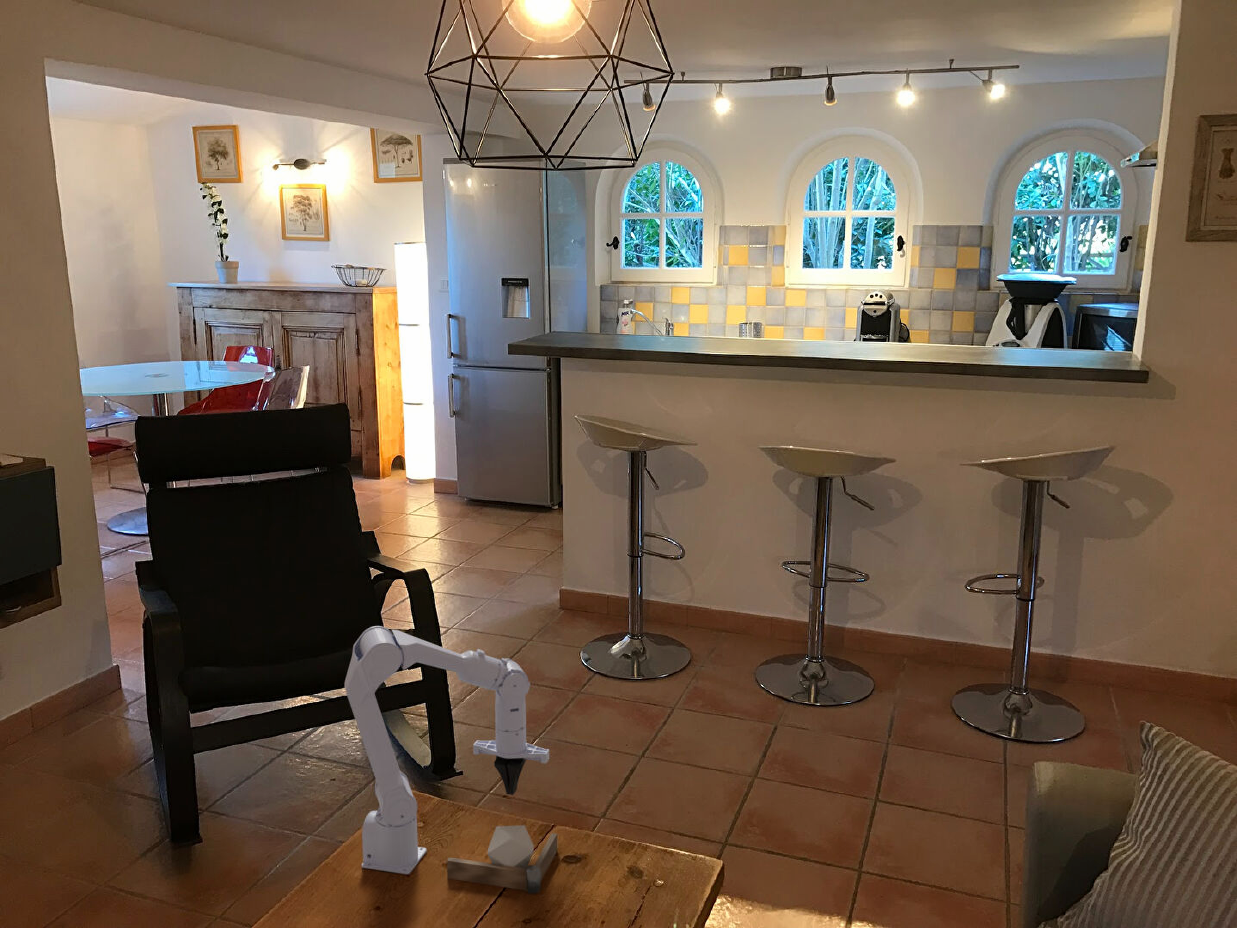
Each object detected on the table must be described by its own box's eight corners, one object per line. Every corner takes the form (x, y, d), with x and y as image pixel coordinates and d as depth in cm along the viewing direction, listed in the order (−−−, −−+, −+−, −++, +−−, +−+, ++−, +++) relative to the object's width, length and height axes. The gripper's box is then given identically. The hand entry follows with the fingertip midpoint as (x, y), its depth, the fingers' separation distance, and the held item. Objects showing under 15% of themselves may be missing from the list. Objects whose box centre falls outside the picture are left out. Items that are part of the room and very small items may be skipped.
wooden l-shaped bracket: (445, 880, 179) (445, 860, 178) (474, 838, 192) (474, 819, 191) (537, 894, 175) (537, 873, 174) (560, 850, 188) (560, 831, 187)
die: (517, 891, 176) (545, 841, 178) (474, 866, 177) (503, 816, 178) (517, 880, 184) (544, 832, 186) (477, 856, 185) (504, 809, 186)
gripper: (554, 720, 190) (554, 786, 193) (482, 711, 194) (483, 776, 196) (542, 736, 184) (542, 805, 186) (468, 727, 187) (469, 794, 190)
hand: (511, 791), depth 191 cm, fingers closed
